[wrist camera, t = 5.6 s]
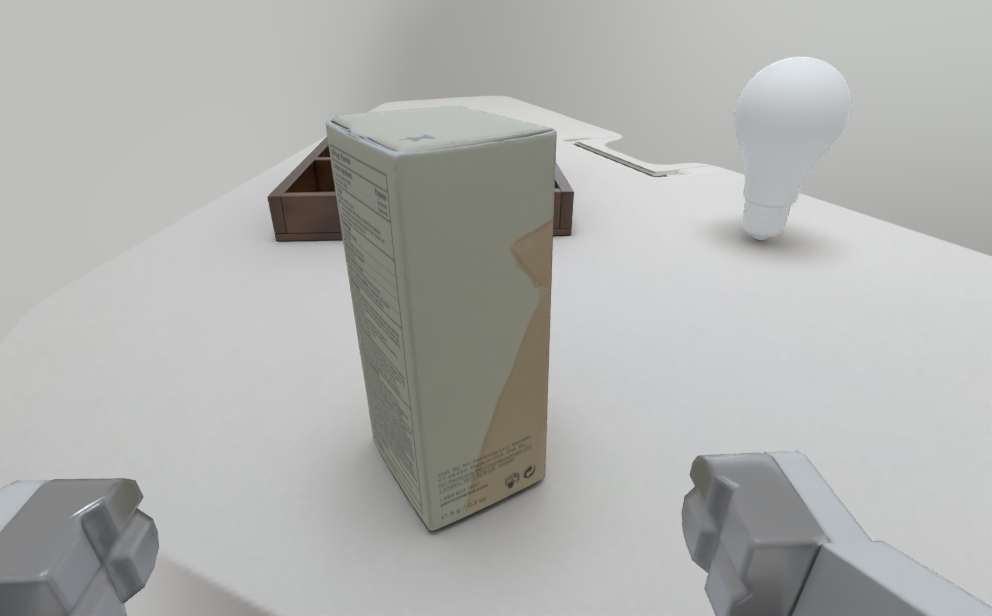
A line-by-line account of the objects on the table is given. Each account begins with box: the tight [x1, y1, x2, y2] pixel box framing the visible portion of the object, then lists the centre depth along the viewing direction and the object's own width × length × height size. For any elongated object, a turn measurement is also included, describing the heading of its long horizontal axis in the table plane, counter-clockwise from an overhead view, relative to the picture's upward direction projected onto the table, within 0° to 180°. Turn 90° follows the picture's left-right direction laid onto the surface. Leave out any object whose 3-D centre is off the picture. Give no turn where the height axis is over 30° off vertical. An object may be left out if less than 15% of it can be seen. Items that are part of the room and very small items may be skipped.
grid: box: [268, 137, 574, 241], centre depth 44 cm, size 19×19×3 cm
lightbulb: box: [734, 57, 851, 240], centre depth 34 cm, size 6×6×11 cm
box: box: [326, 106, 557, 530], centre depth 16 cm, size 5×4×11 cm
